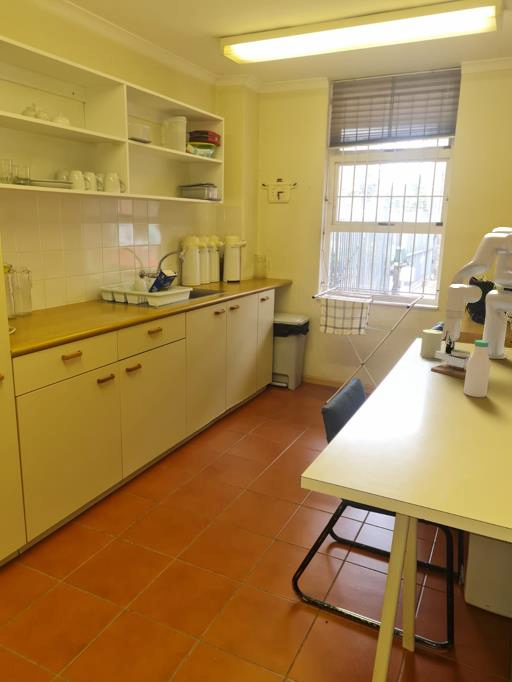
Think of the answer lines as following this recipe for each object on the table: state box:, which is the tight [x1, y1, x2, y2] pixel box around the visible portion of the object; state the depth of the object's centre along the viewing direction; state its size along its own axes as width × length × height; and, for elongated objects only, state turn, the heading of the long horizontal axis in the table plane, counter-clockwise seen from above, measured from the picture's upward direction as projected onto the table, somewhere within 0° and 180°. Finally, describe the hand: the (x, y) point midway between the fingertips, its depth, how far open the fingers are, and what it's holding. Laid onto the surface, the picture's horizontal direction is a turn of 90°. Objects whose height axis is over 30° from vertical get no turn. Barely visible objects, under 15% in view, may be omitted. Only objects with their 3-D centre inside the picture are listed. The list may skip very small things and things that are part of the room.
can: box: [419, 329, 443, 358], centre depth 240 cm, size 9×9×12 cm
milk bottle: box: [463, 339, 491, 398], centre depth 183 cm, size 8×8×20 cm
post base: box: [430, 356, 467, 380], centre depth 213 cm, size 16×16×7 cm
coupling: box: [434, 348, 471, 368], centre depth 215 cm, size 7×14×6 cm, turn 40°
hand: (449, 355), depth 222 cm, fingers closed
